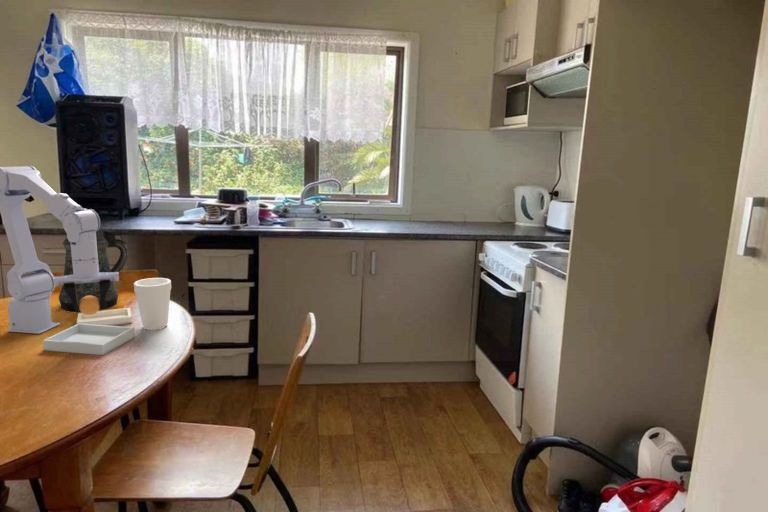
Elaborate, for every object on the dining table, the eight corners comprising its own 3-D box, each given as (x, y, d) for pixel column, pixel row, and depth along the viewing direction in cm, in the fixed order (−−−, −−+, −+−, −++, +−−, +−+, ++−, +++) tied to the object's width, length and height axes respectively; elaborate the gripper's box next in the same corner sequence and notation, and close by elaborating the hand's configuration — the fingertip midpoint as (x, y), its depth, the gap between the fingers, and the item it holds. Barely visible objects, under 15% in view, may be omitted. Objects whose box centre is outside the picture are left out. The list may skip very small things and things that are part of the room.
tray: (43, 350, 132) (42, 340, 131) (79, 332, 145) (78, 323, 144) (104, 355, 130) (103, 345, 130) (134, 336, 143) (134, 327, 142)
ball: (74, 316, 135) (72, 297, 134) (87, 310, 140) (86, 292, 139) (93, 318, 134) (91, 299, 133) (105, 312, 139) (103, 293, 138)
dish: (77, 329, 147) (76, 322, 146) (78, 319, 155) (78, 313, 154) (131, 323, 153) (131, 316, 152) (130, 314, 161) (130, 307, 160)
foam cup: (160, 333, 145) (157, 287, 143) (129, 330, 147) (126, 285, 145) (179, 322, 155) (177, 279, 152) (151, 319, 156) (148, 276, 154)
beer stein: (47, 308, 164) (38, 227, 159) (101, 292, 182) (95, 220, 177) (85, 316, 158) (77, 232, 153) (138, 299, 176) (132, 224, 170)
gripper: (50, 263, 127) (55, 318, 130) (117, 259, 134) (121, 310, 137) (52, 258, 133) (57, 310, 136) (116, 253, 140) (120, 303, 143)
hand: (89, 310), depth 137 cm, fingers closed on ball, 5 cm apart
